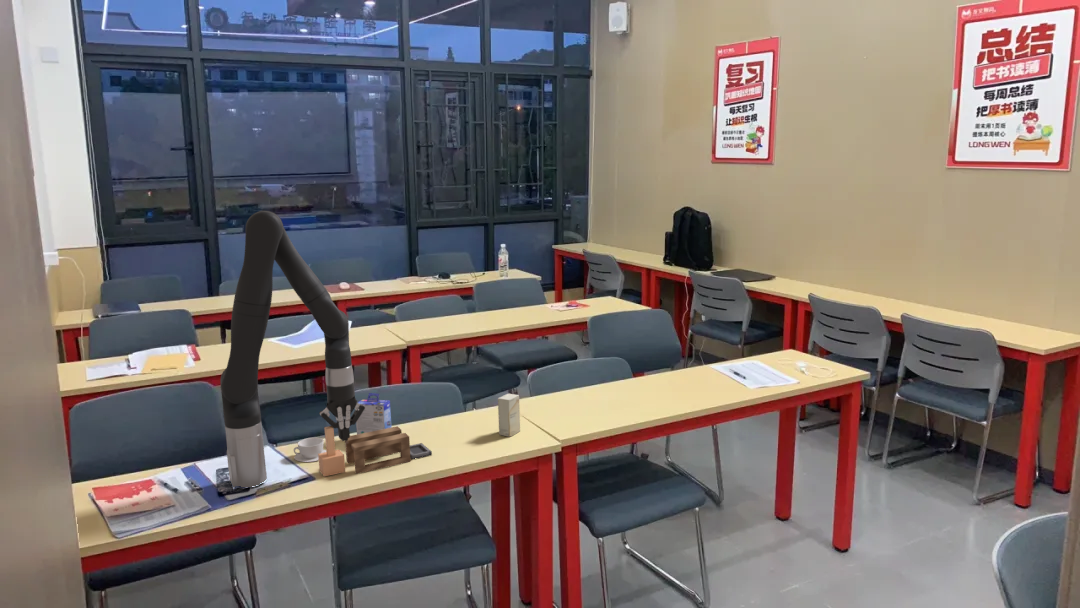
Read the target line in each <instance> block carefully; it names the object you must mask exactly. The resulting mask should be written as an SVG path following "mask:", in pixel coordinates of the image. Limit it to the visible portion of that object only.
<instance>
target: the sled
mask: <svg viewBox="0 0 1080 608" xmlns="http://www.w3.org/2000/svg"><path fill="white" fill-rule="evenodd" d="M323 429H324V437H325V448H326V449H325V450H326V452H324V453H320V454H318V458H319V460H318V467H319V468H318V470H319V472H320V473H321V474H322V476H323V477H328V476H332V475H337V474H342V473H346V463H345V462H346V461H345V454H344V453H343V452H342V451H341V449H336V444H335V431H334V430H335V428H333V427H332V426H331V425H329V426H324V427H323Z"/></svg>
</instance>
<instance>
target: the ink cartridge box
mask: <svg viewBox="0 0 1080 608" xmlns="http://www.w3.org/2000/svg"><path fill="white" fill-rule="evenodd" d="M373 396H375V398H374V397H373ZM379 398H380V393H375V392H374V393H372V392H370V393H368V396H367V398H366V399H361V400H359V401H357V403H359V404H362V405H363V406H364V407H365V409H364V411H363V412H362V414H361V416H360V417H359V419H358V420H357V422H356V423H355V426H356V435H357V434H362V433H367V432H372V431H377V430H382V429H387V428H392V427H393V426H392V417H391V416H392V414H391V411H392V410H391V400H387V399H385V400H384V399H379Z"/></svg>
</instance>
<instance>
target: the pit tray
mask: <svg viewBox="0 0 1080 608" xmlns="http://www.w3.org/2000/svg"><path fill="white" fill-rule="evenodd" d="M432 455H433V452H432V450H431V449H429V447H427V446H426V445H425V444H423V443H422V442H420V443H415V444H412V445H411V444H410V457H411V460H416V459H415V458H418V459H421V458H420V457H422V458H426V457H430V456H432Z"/></svg>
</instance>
